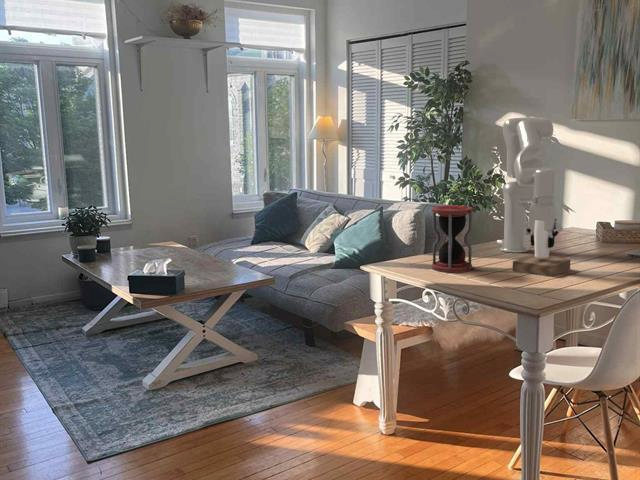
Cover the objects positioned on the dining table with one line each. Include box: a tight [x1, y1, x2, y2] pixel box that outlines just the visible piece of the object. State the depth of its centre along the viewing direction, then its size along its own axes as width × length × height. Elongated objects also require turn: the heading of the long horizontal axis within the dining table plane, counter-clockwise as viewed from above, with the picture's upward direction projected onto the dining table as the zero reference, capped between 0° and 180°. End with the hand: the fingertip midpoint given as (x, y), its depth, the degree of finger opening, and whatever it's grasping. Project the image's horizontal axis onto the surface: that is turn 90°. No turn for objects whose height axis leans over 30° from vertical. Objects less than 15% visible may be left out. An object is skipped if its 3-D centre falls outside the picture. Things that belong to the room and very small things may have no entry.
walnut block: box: [512, 254, 571, 277], centre depth 248 cm, size 16×16×4 cm
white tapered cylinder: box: [534, 220, 551, 259], centre depth 246 cm, size 7×7×15 cm
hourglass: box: [431, 204, 474, 273], centre depth 253 cm, size 16×16×25 cm
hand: (542, 245), depth 246 cm, fingers closed on white tapered cylinder, 6 cm apart
